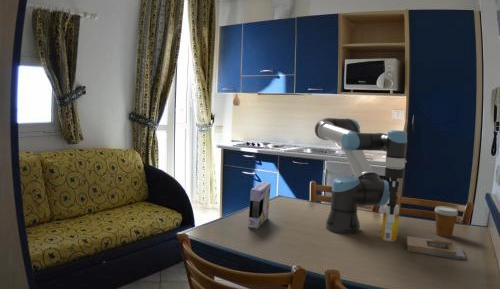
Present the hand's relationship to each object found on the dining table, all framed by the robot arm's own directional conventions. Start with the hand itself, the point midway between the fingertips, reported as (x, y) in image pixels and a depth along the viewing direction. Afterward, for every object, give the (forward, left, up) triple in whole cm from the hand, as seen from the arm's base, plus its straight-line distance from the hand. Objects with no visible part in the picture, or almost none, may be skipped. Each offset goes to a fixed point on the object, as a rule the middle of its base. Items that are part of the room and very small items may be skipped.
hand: (391, 217), depth 163 cm
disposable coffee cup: (+23, +19, -10) cm, 31 cm away
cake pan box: (-57, -4, -10) cm, 58 cm away
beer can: (0, 0, -10) cm, 10 cm away
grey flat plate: (+19, -5, -9) cm, 22 cm away
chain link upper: (+15, -5, -9) cm, 19 cm away
